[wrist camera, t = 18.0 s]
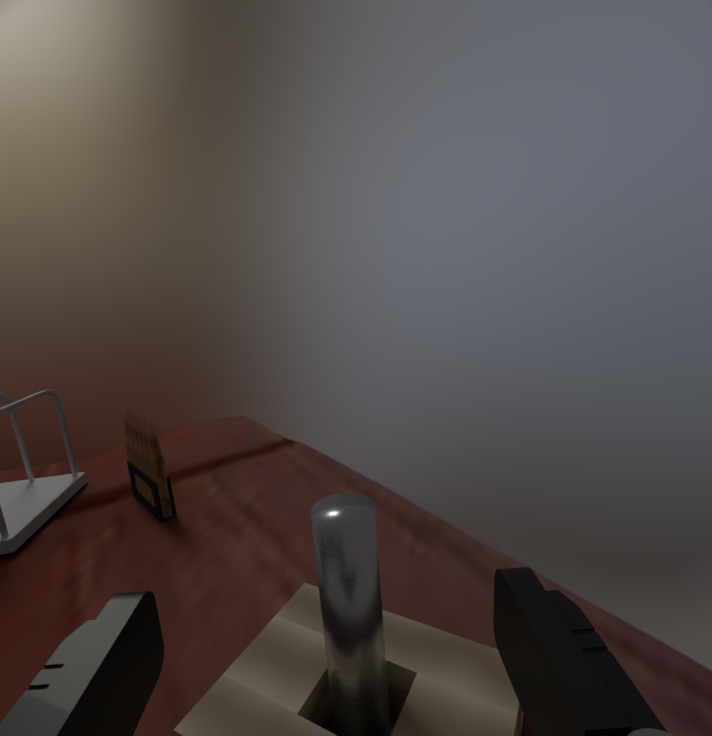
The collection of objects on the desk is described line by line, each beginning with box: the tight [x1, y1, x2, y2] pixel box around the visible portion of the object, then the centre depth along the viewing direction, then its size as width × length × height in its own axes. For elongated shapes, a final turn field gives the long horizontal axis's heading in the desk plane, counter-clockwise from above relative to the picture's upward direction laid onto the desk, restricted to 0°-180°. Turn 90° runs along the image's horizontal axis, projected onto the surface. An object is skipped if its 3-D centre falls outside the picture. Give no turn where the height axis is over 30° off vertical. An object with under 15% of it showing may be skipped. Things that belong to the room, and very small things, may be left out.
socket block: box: [174, 583, 525, 736], centre depth 24 cm, size 12×16×4 cm
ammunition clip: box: [124, 410, 177, 522], centre depth 53 cm, size 11×2×12 cm, turn 44°
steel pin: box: [311, 493, 391, 736], centre depth 23 cm, size 3×3×15 cm
